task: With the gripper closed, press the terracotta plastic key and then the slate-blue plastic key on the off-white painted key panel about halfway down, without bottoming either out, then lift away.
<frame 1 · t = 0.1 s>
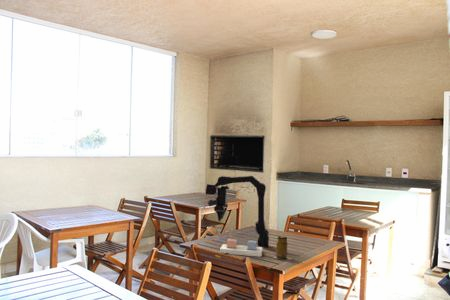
hand: (220, 219, 250), 15 cm above the table, fingers open, 9 cm apart
terracotta key: (231, 243, 230), point 5 cm above the table, slide at 0.0 cm
key panel: (241, 252, 229), on the table
slate key: (252, 244, 228), point 5 cm above the table, slide at 0.0 cm
condiment: (282, 258, 221), on the table
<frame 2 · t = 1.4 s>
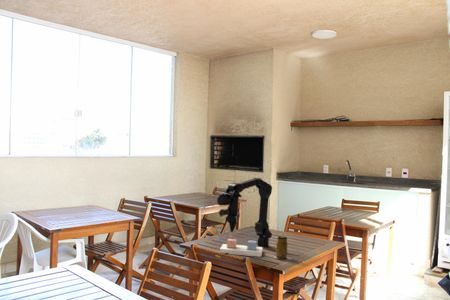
hand: (232, 231, 230), 12 cm above the table, fingers open, 5 cm apart
nothing on the table moved.
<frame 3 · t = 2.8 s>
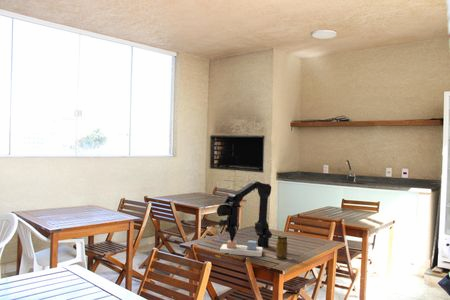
hand: (231, 241, 230), 6 cm above the table, fingers closed, pressing on terracotta key
terracotta key: (231, 244, 230), point 4 cm above the table, slide at 0.9 cm, touching gripper
everything else where it was.
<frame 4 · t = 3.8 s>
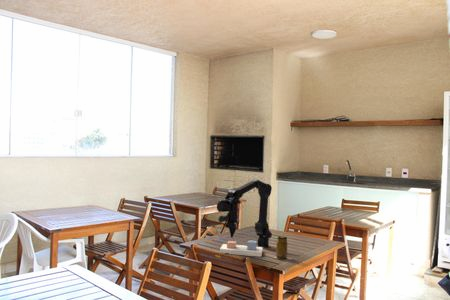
hand: (231, 237, 230), 8 cm above the table, fingers closed
terracotta key: (231, 245, 230), point 3 cm above the table, slide at 1.3 cm
everything else where it was.
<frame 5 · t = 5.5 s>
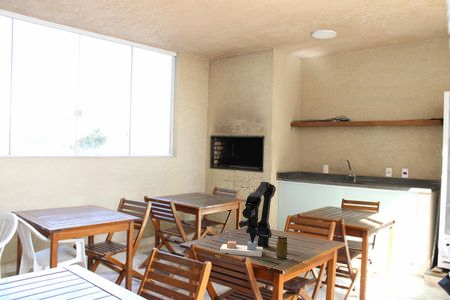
hand: (252, 242, 228), 6 cm above the table, fingers closed, pressing on slate key
slate key: (251, 245, 228), point 4 cm above the table, slide at 0.6 cm, touching gripper
everything else where it was.
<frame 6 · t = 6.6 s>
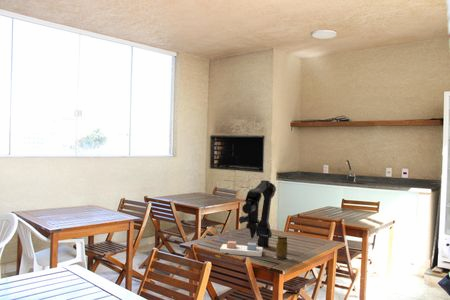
hand: (252, 238, 228), 9 cm above the table, fingers closed
slate key: (251, 247, 228), point 3 cm above the table, slide at 1.3 cm
everything else where it was.
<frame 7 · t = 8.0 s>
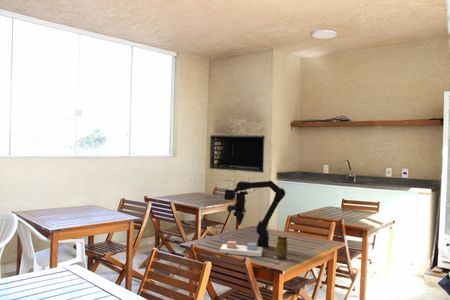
hand: (239, 225, 248), 12 cm above the table, fingers closed
nothing on the table moved.
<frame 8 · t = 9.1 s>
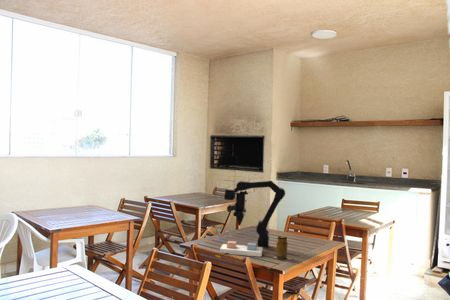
hand: (239, 225, 249), 12 cm above the table, fingers closed
nothing on the table moved.
at the end: terracotta key slide at 1.3 cm; slate key slide at 1.3 cm; condiment moved 0.3 cm from its start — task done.
